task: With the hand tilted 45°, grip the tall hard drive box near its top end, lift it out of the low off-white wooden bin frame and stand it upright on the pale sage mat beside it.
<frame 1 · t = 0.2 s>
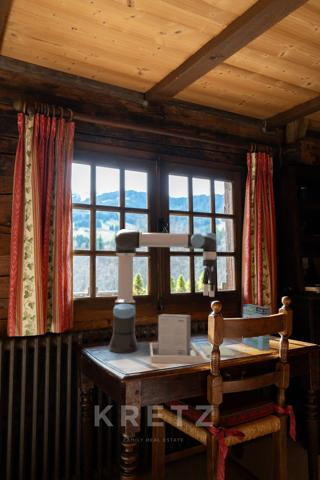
hand: (208, 296, 210), 28 cm above the table, tool pointing down, fingers open, 13 cm apart
bin frame: (174, 355, 183), on the table
gum box: (255, 347, 204), on the table
hard drive box: (174, 355, 183), resting in bin frame
mat: (216, 352, 190), on the table
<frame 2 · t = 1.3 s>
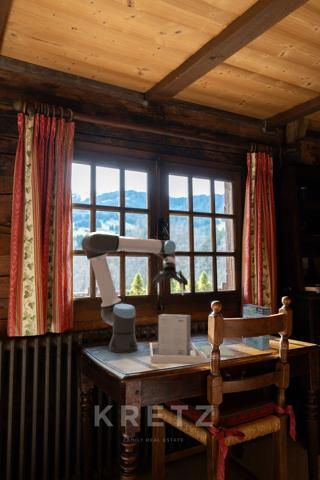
hand: (170, 293, 201), 30 cm above the table, tool tilted 45°, fingers open, 13 cm apart
nothing on the table moved.
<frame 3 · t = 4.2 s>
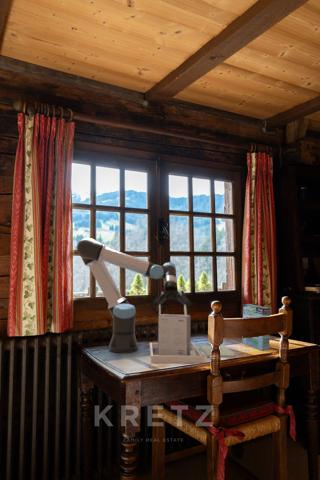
hand: (172, 316, 189), 19 cm above the table, tool tilted 45°, fingers open, 13 cm apart
hard drive box: (174, 355, 183), resting in bin frame, touching gripper
everything else where it was.
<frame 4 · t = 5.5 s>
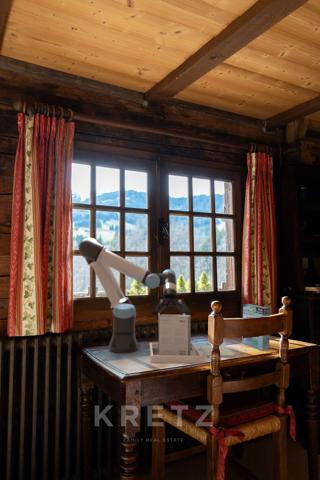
hand: (172, 325, 186), 15 cm above the table, tool tilted 45°, fingers closed on hard drive box, 12 cm apart
hard drive box: (174, 355, 182), resting in bin frame, touching gripper
everything else where it was.
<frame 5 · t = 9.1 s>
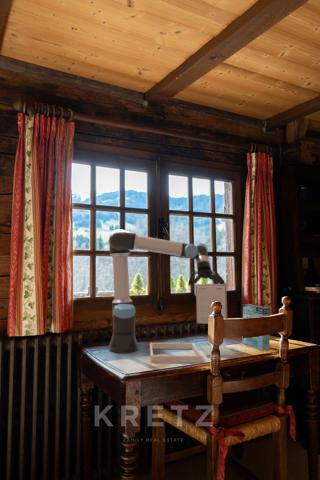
hand: (208, 294, 192), 30 cm above the table, tool tilted 45°, fingers closed on hard drive box, 12 cm apart
hard drive box: (212, 323, 189), point 15 cm above the table, touching gripper
everything else where it was.
when the fingers open (16 cm above the table, at t = 13.0 s): hard drive box stays where it is, resting on mat.
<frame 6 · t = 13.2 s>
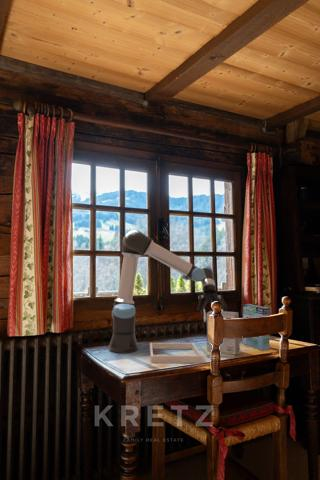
hand: (214, 320, 192), 16 cm above the table, tool tilted 45°, fingers open, 9 cm apart
hard drive box: (223, 351, 188), point 1 cm above the table, touching gripper, mat
everything else where it was.
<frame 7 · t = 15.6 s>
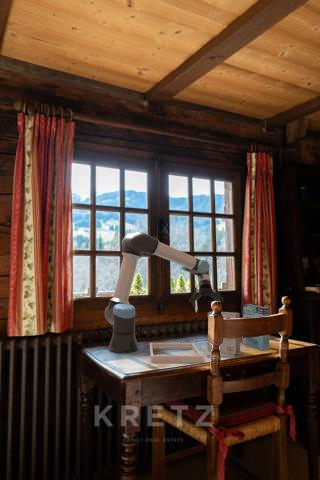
hand: (208, 311, 206), 19 cm above the table, tool tilted 45°, fingers open, 13 cm apart
hard drive box: (223, 351, 188), point 1 cm above the table, touching mat
everything else where it was.
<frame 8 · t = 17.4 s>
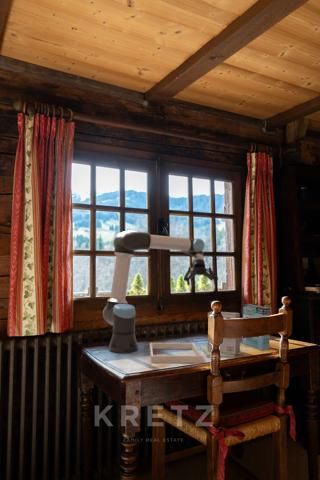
hand: (202, 289, 208), 32 cm above the table, tool tilted 45°, fingers open, 13 cm apart
nothing on the table moved.
at the end: hard drive box 4.0 cm from the mat (horizontally); hard drive box touching mat; hard drive box tilted 0° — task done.
